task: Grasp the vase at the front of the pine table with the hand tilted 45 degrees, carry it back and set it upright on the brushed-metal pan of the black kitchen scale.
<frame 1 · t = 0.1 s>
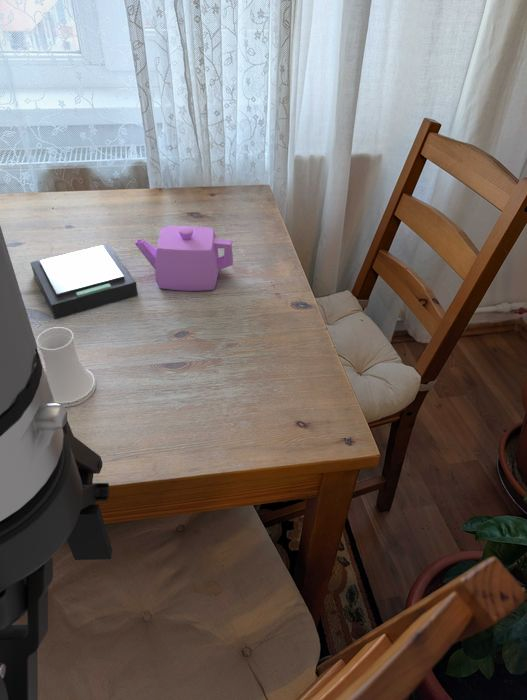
hand: (74, 652, 35), 19 cm above the table, tool pointing down, fingers open, 13 cm apart
teapot: (186, 277, 102), on the table
scale: (85, 285, 98), on the table
vase: (70, 389, 78), on the table
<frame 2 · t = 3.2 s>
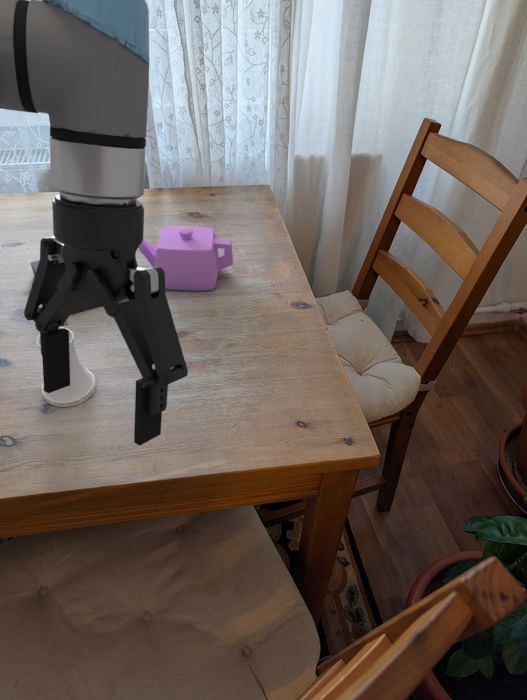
hand: (99, 412, 53), 17 cm above the table, tool tilted 20°, fingers open, 13 cm apart
nothing on the table moved.
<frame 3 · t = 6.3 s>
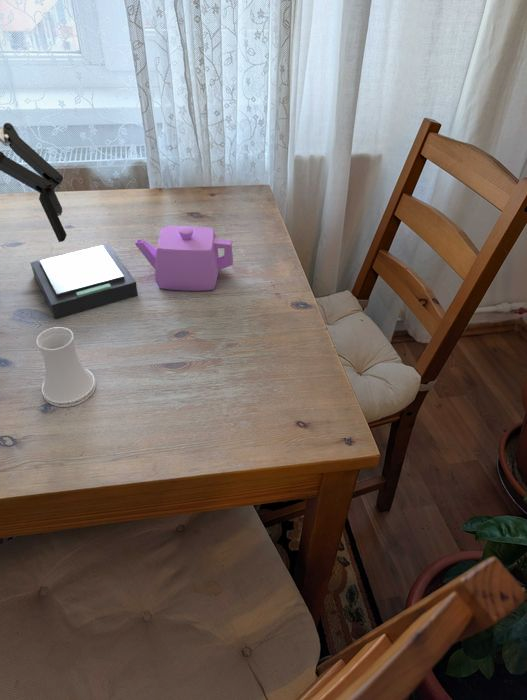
hand: (13, 254, 70), 19 cm above the table, tool tilted 45°, fingers open, 13 cm apart
nothing on the table moved.
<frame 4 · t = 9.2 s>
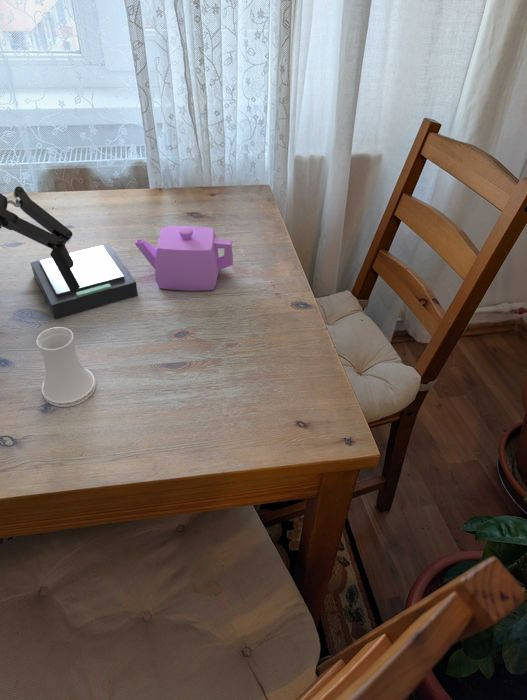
hand: (32, 308, 74), 11 cm above the table, tool tilted 45°, fingers open, 13 cm apart
nothing on the table moved.
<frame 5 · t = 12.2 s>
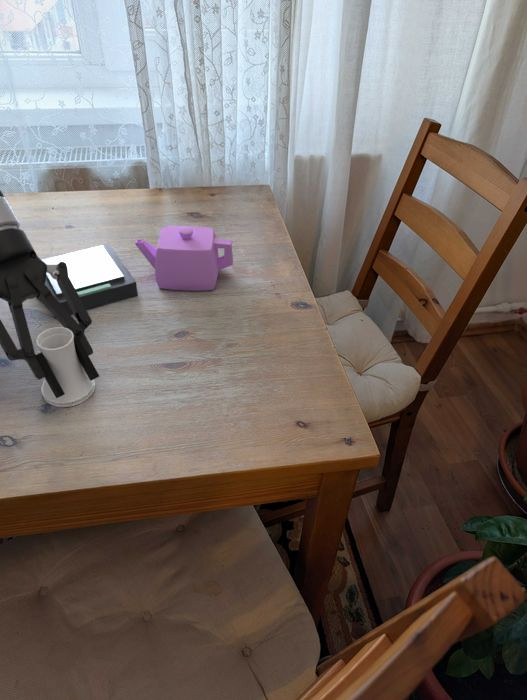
hand: (78, 386, 74), 3 cm above the table, tool tilted 45°, fingers closed on vase, 5 cm apart
vase: (69, 389, 78), on the table, touching gripper
everything else where it was.
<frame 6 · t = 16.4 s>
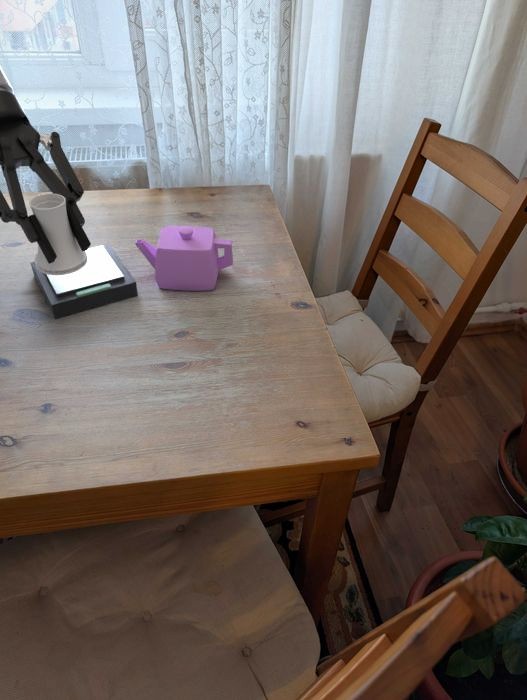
hand: (70, 253, 76), 16 cm above the table, tool tilted 45°, fingers closed on vase, 5 cm apart
vase: (62, 263, 80), point 13 cm above the table, touching gripper
everything else where it was.
when the fingers open (7 cm above the table, at t = 20.9 s): vase stays where it is, resting on scale.
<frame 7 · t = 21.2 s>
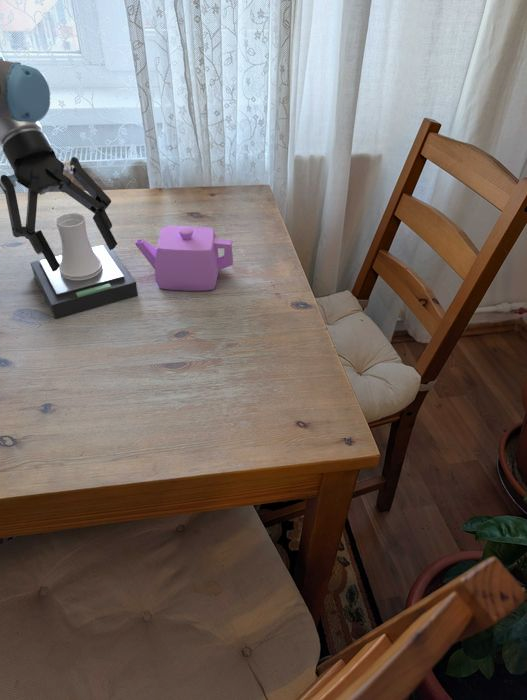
hand: (85, 257, 91), 8 cm above the table, tool tilted 45°, fingers open, 10 cm apart
vase: (81, 270, 96), point 3 cm above the table, touching scale
everything else where it was.
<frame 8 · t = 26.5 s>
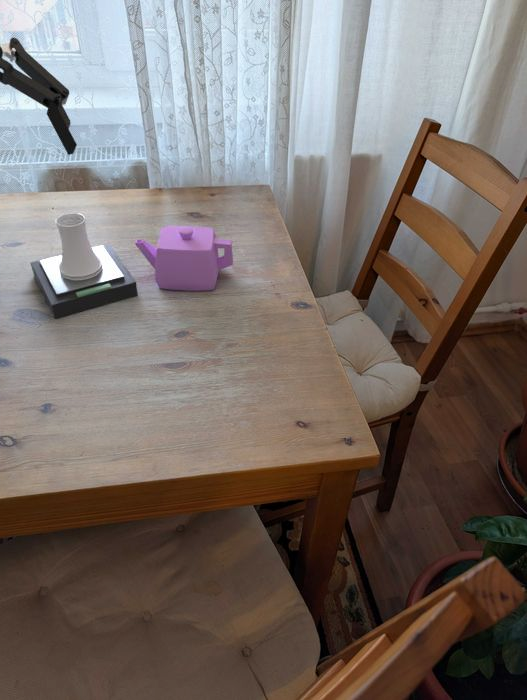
hand: (27, 161, 72), 28 cm above the table, tool tilted 45°, fingers open, 13 cm apart
nothing on the table moved.
at the end: vase inside the target area on the scale (0.0 cm from its centre), point 3.4 cm above the scale's base; vase tilted 0°; the gripper is holding nothing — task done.
